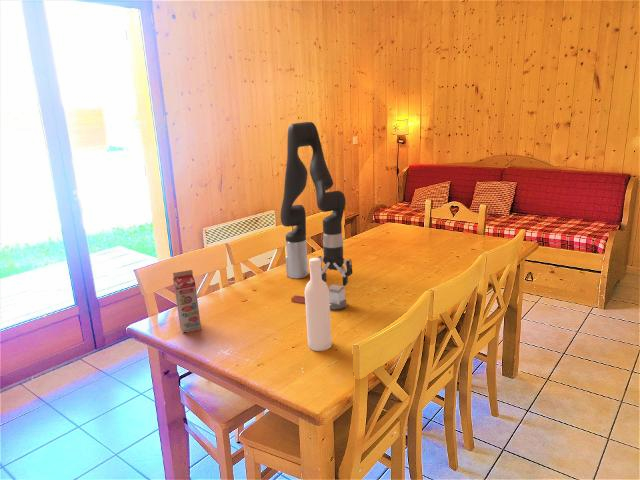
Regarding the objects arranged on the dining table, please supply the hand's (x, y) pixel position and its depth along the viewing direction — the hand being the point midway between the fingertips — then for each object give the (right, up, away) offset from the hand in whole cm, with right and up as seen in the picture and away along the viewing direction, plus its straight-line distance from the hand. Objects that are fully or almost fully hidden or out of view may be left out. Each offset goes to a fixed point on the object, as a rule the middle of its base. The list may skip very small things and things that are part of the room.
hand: (334, 283), depth 189 cm
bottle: (-6, -18, -28) cm, 34 cm away
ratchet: (-6, -9, +5) cm, 12 cm away
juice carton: (-53, -15, -9) cm, 56 cm away
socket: (0, -7, +2) cm, 7 cm away
